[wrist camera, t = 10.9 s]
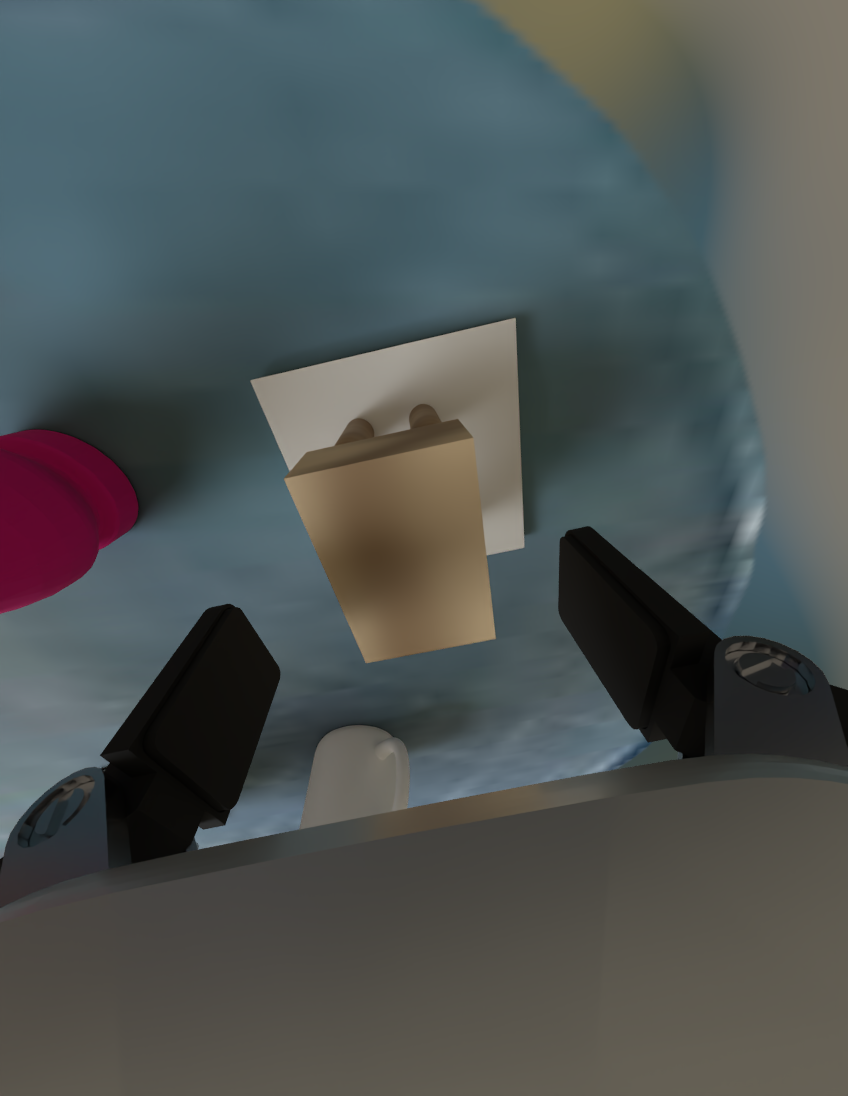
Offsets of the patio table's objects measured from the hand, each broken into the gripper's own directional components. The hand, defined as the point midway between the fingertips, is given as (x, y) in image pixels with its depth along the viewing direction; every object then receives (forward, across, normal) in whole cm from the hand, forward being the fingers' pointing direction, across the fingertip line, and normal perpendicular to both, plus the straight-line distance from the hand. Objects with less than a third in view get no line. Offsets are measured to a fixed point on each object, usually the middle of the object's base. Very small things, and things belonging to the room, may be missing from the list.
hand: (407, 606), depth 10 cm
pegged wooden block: (+10, 0, 0) cm, 10 cm away
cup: (+12, +9, +25) cm, 29 cm away
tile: (+11, -1, -1) cm, 11 cm away
